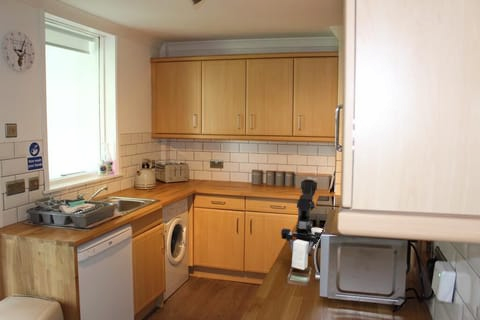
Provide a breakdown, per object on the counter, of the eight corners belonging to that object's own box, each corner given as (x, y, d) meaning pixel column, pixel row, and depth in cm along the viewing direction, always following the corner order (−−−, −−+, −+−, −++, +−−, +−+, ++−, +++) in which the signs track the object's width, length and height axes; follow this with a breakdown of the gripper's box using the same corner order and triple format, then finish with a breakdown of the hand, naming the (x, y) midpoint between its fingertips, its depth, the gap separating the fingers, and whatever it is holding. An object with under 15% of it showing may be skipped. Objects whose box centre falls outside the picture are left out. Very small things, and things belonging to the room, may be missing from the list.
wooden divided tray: (291, 267, 206) (292, 264, 206) (311, 270, 204) (311, 267, 204) (286, 283, 189) (286, 279, 189) (308, 286, 187) (308, 283, 186)
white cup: (323, 250, 232) (324, 232, 231) (308, 248, 234) (309, 231, 232) (323, 245, 240) (324, 228, 239) (308, 243, 241) (310, 226, 240)
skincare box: (307, 267, 192) (309, 241, 190) (303, 270, 188) (305, 244, 186) (295, 263, 195) (297, 238, 193) (291, 266, 191) (293, 241, 190)
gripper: (283, 211, 194) (278, 242, 185) (324, 215, 190) (322, 247, 181) (283, 223, 202) (279, 253, 194) (323, 227, 199) (321, 258, 190)
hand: (300, 253), depth 189 cm, fingers closed on skincare box, 7 cm apart
